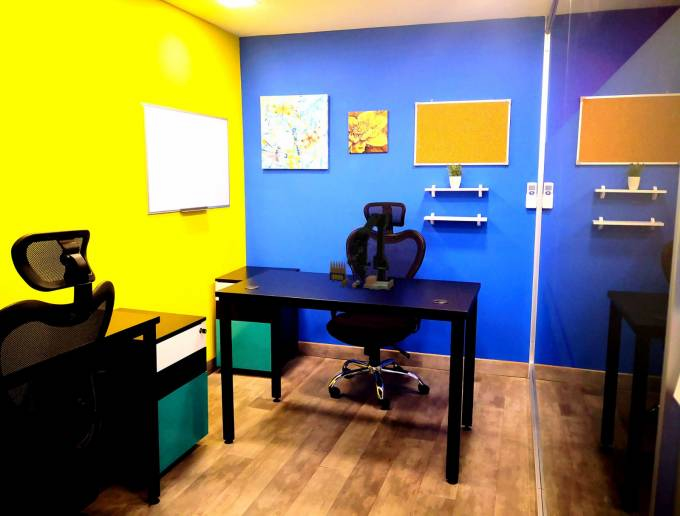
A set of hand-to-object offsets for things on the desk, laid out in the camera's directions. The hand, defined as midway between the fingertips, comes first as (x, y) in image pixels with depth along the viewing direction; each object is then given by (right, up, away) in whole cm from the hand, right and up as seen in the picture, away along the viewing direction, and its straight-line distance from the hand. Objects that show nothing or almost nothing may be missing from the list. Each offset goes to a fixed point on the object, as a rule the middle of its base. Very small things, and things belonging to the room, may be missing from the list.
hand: (362, 280), depth 309 cm
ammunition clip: (-14, -1, +16) cm, 21 cm away
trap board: (+3, -3, 0) cm, 4 cm away
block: (+5, -1, -1) cm, 5 cm away
